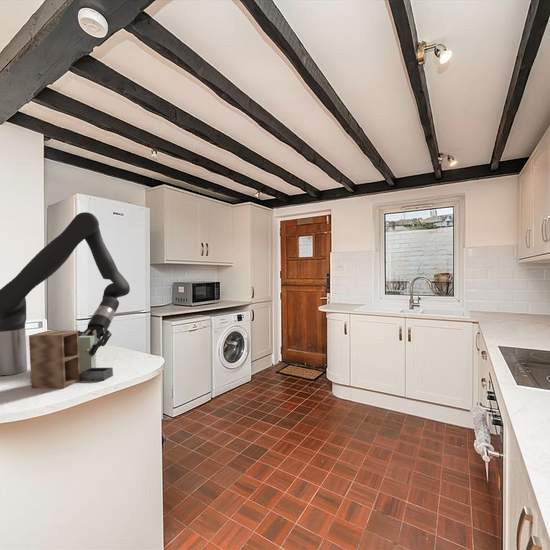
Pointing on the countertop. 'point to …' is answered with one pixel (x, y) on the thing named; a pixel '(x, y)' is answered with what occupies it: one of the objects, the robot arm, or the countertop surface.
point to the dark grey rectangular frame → (96, 374)
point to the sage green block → (86, 353)
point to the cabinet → (54, 359)
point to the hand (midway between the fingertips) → (82, 354)
